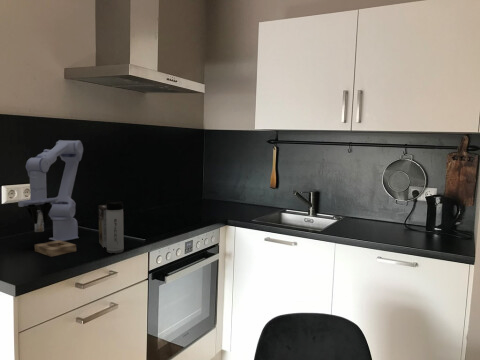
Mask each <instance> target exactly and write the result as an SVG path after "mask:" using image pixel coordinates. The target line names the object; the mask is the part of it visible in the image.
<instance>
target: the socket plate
mask: <svg viewBox="0 0 480 360" xmlns="http://www.w3.org/2000/svg"><path fill="white" fill-rule="evenodd" d="M34 252H36V253H39V254H42V255H45V256H48V257H51V258H52V257H56V256H61V255H64V254H69V253H75V252H77V244H75V243H71V242H68V241H61V240H57V241H54V240H51V241H48V242H42V243H37V244H34Z"/></svg>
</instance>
